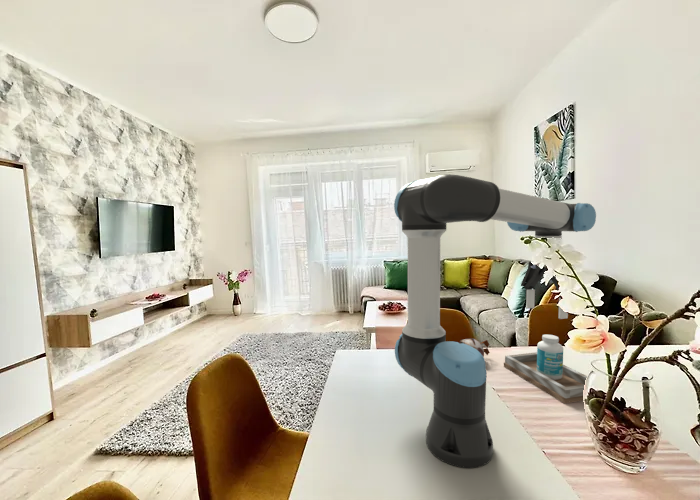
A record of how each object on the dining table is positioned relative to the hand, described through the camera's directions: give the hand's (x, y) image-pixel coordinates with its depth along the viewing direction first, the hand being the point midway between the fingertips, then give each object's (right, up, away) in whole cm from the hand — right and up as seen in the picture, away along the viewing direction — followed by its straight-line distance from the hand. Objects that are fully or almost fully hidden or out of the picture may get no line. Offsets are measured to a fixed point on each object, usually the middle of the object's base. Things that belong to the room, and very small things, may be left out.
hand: (545, 312), depth 107 cm
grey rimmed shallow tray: (+2, -23, +2) cm, 23 cm away
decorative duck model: (-18, -22, +20) cm, 35 cm away
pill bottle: (+2, -22, +1) cm, 22 cm away
